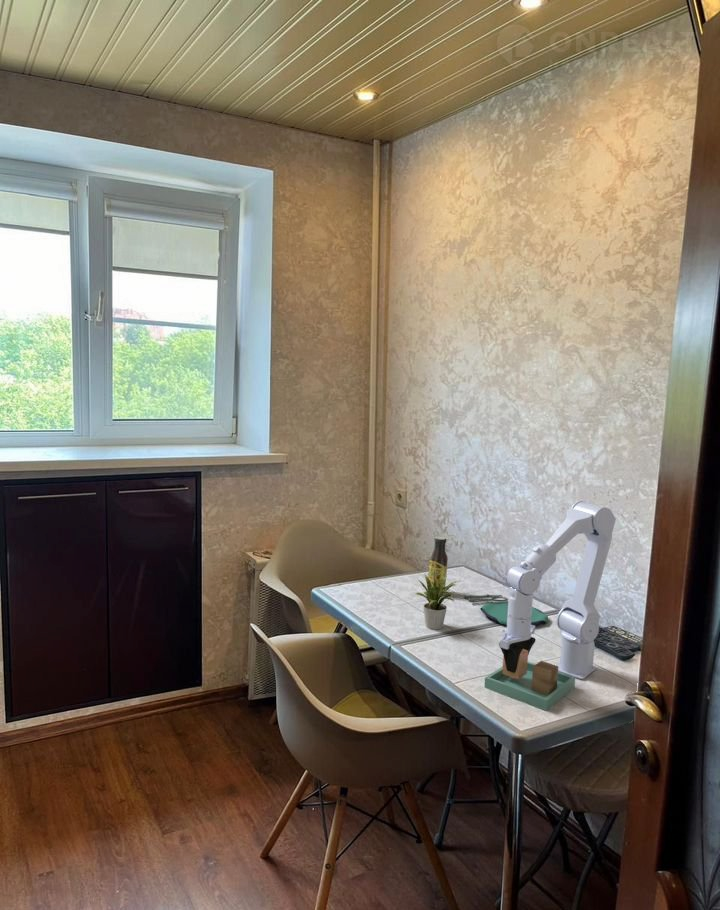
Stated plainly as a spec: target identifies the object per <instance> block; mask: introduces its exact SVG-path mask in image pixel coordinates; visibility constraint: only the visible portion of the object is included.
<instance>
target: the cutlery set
mask: <svg viewBox="0 0 720 910" xmlns="http://www.w3.org/2000/svg"><path fill="white" fill-rule="evenodd" d="M463 598H464V599H467V600H468V601H469V602H472V603H471V604H472V606H474V605H482V606H481V607H480V611H481V612H482V613H483V614H484V616H486V617H488V618H490V619H492V620H494V621H496V622H498V623H500V625H506V626H507V617H508V601H509V597H505V596H503V595H502V594H490V593H486V594H484V595H483V594H482V595H463ZM506 600H507V601H506ZM476 601H483V602H476ZM548 621H549V616H548V615H547V614H545V613H544V612H543V611H542V610H540V609H538V608H536V607H533V606H532V615H531V625H533V626H534V625H538V624H540V623H543V622H545V624H546V623H548Z"/></svg>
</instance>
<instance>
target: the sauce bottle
mask: <svg viewBox="0 0 720 910" xmlns="http://www.w3.org/2000/svg"><path fill="white" fill-rule="evenodd" d="M446 544H447V537H445V536H439V535H438V536H434V547H433V551H432V553H431V556H430V559H429V561H428V562H429V563H428V574H427V575H428V576H427V577H428V578H429V580H430V581H432V582H433V583H434V578H433V574H434V576H435V579H436V583H437V586H438V583H439V582H440V580H441V578H442V576H443V574H444V577H445V576H447V575H448V573H447V572H448V560H449V559H448V555H447V553H446ZM446 581H447V578H446V579H445V583H444V585H443V587H442V588H444V587H446V586H447V585H446V583H447V582H446ZM432 582H431V585H432V587H433V584H432ZM443 590H444V589H443ZM443 590H442V591H443ZM442 591H441V592H442ZM441 592H440V593H441ZM444 592H445V591H444Z"/></svg>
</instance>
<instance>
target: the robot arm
mask: <svg viewBox="0 0 720 910" xmlns="http://www.w3.org/2000/svg"><path fill="white" fill-rule="evenodd" d="M616 520H617V518H616V516H615V515H614V513H613V511H612V510H611V509H610V508H609V507H606V506H600V505H596V504H593V503H589V502H586V501H583V500H578V501H576V502H574V503H573V504H572V506H571V507H570V508H569V509H567V511H566V518H565V519H564V520H563V521H562V523H561V524H560V526H558V528H557V529H556V531H555V532H554V533H553V534H552V536H551V537H549V539H548V540H547V541H546V543H545V544H538V545H536V546H534V547H533V548H532V551H530V553H529V554H528V555H527V556H526V557H525V558H524V559H523V560H522V561H521V562H520V564H519V565H515V566H513V567H511V568H509V569H508V571H507V572H506V576H504V582H505V584H506V586H507V593H508V600H507V601H508V617H507V625H506V627H503V628H502V629H501V631H502V632H503V633H504V635H503V637H502V638H501V639H500V641H499V642H498V643H499V644H498V646H499V649H500V650H501V652H502V654H503V656H504V659H505V664H506V669H507V671H510V672H512V673H515V672H516V669H517V664H518V659H519V656H520V654H521V652H522V650H523V649H524V650H528V656H529V655H530V651H531V650H532V648H533V646H534V645H535V643H536V641H537V640H536V638H535V637H534V636H533V637H532V635H533V634H535V632H536V625H534V624H533V625H531V615H532V607H533V603H534V602H533V599H534V593H535V592H537V591H538V589H539V587H540V583H541V581H542V578H543V576H544V575H545V574H546V573H547V572H548V570H549V569H550V568H552V566H553V565H554V564H555V563H556V560H557V554H558V553H559V552H560V551H561V550H562V549H563V548H565V547H566V545H567V544H569V543H570V542H571V541H572V540H573V539H574V538H575V537H577V536H578V535H579V534H582V535H583V534H584V535H585V538H586V539H587V543H586V546H585V550H584V553H583V558H582V561H581V565H580V568H579V573H578V576H577V580H576V583H575V587H574V591H573V593H572V597H571V598H569V599H567V600H565V601H564V602H563V604H562V607H561V609H560V610H559V612H558V614H557V616H556V626H557V627H558V629H559V631H560V633H559V634H561V642H560V653H559V663H558V664H556V666H558V672H560V673H563V674H566V675H569V676H572V677H575V679H580V680H584V679H586V678H587V677H589V675H590V674H591V673H592V672H594V671H595V670H596V669H597V666H596V665H594V658H595V657H594V655H595V645H596V644H595V641H594V640H595V639H596V638H597V637H598V634H599V631H600V624H599V622H600V617H601V615H600V613H599V611H598V610H597V608H596V606H595V602H596V599H597V595H598V591H599V588H600V587H599V586H600V583H601V580H602V575H603V572H604V569H605V565H606V561H607V557H608V555H609V551H610V547H611V543H612V539H613V532H614V528H615V524H616Z"/></svg>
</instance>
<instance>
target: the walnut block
mask: <svg viewBox="0 0 720 910" xmlns="http://www.w3.org/2000/svg"><path fill="white" fill-rule="evenodd" d="M535 664H536V665H534V666H533V675H532V688H531V690H533V691H536V692H538V693H541V694H544V695H546V696H548V695H549V694H551V693H552V692H553V691H555V690H556V689H557V678H558V666H557V664H556V665H555V664H552V663H550V662H546V661H543V660H541V661H538V662H537V663H535Z"/></svg>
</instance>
